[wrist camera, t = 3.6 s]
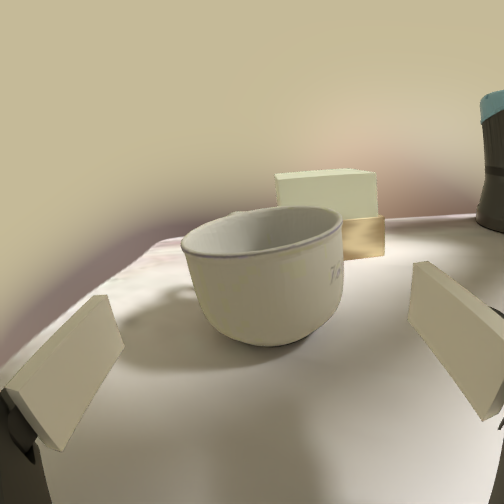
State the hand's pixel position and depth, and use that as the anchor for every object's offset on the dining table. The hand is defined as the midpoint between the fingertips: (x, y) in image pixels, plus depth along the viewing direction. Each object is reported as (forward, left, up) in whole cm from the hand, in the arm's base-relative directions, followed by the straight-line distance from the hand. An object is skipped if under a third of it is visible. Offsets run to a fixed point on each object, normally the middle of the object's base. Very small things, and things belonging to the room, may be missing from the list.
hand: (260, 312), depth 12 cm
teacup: (0, -11, -6) cm, 12 cm away
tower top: (-8, -27, -1) cm, 28 cm away
